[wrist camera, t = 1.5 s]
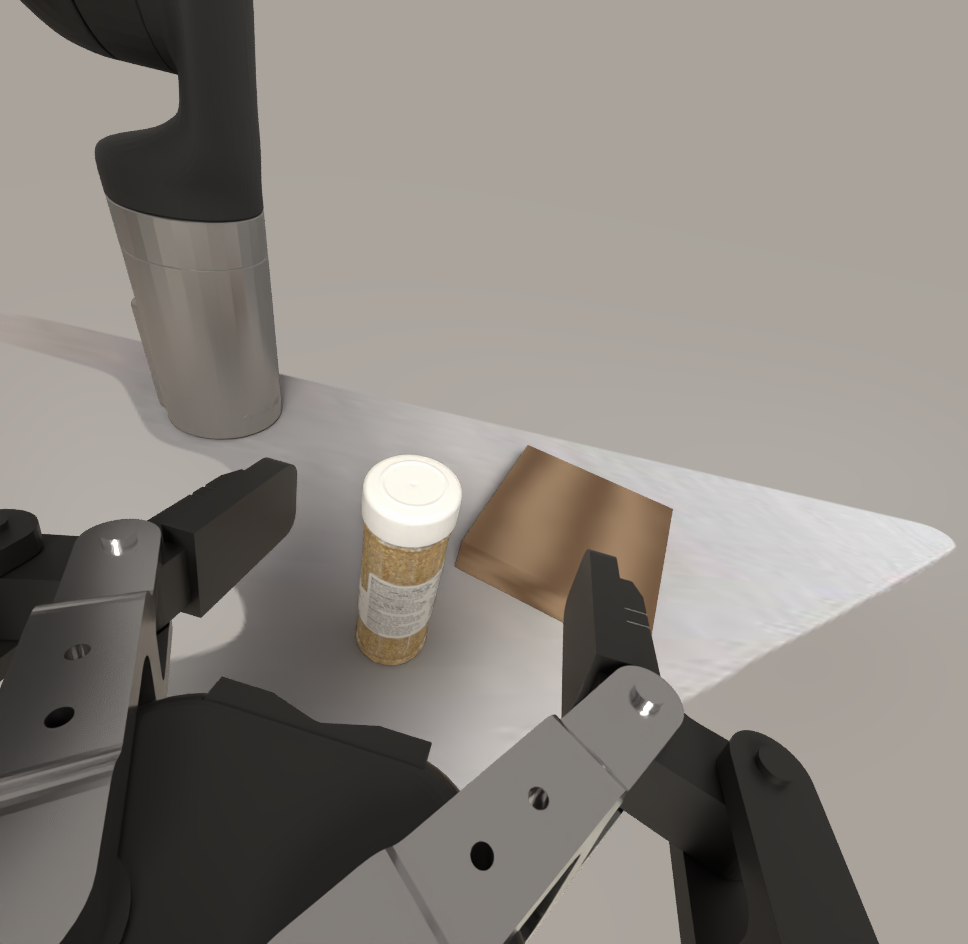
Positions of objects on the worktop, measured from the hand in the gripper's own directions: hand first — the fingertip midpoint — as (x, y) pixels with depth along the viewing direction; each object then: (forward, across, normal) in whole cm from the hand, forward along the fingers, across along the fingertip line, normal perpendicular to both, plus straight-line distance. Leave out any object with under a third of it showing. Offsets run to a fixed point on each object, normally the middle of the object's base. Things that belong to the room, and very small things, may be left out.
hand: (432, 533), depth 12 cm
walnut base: (+23, -8, +14) cm, 28 cm away
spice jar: (+11, +3, +16) cm, 20 cm away
